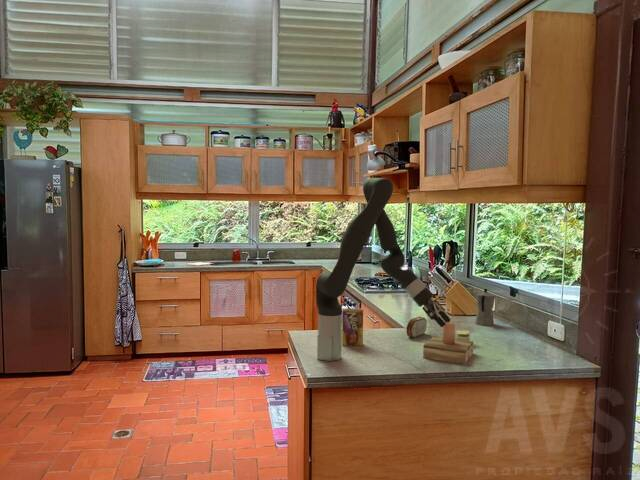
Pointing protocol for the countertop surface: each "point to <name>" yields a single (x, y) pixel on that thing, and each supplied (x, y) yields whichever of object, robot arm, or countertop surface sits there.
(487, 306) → the coffeepot
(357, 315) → the candy box
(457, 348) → the plinth
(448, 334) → the peach domed capsule
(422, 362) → the countertop surface
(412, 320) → the tin
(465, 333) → the stacked layers on plate
